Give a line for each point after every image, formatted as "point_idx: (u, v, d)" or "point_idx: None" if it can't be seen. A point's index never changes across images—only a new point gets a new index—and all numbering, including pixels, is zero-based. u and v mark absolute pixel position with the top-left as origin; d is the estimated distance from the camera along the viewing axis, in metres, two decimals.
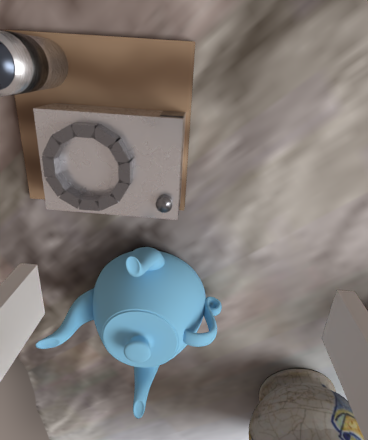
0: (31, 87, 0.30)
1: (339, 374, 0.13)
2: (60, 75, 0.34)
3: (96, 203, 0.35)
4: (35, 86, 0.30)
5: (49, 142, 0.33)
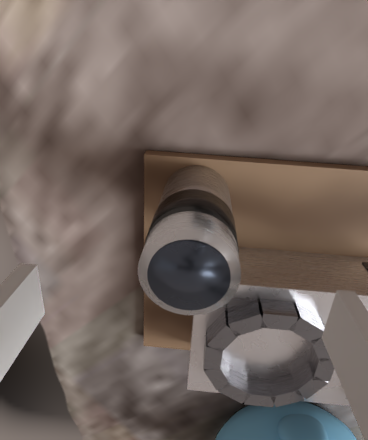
0: None
1: (339, 374, 0.13)
2: None
3: (271, 399, 0.25)
4: None
5: (222, 332, 0.22)
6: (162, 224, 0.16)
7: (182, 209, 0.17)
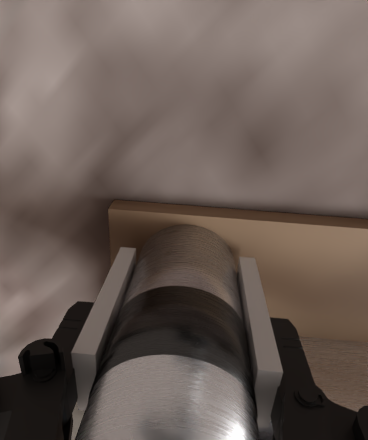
0: None
1: None
2: None
3: None
4: None
5: None
6: (114, 386, 0.08)
7: (154, 348, 0.09)
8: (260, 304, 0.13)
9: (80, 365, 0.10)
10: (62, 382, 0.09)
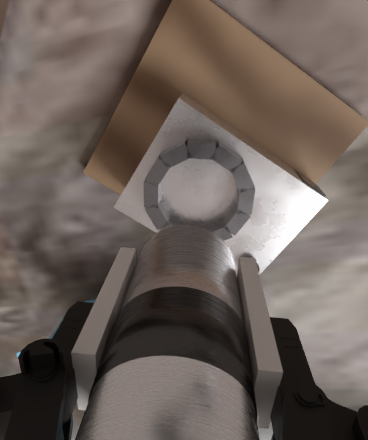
0: None
1: None
2: None
3: None
4: None
5: (178, 148, 0.25)
6: (113, 387, 0.08)
7: (153, 349, 0.09)
8: (260, 304, 0.13)
9: (80, 365, 0.10)
10: (62, 382, 0.09)
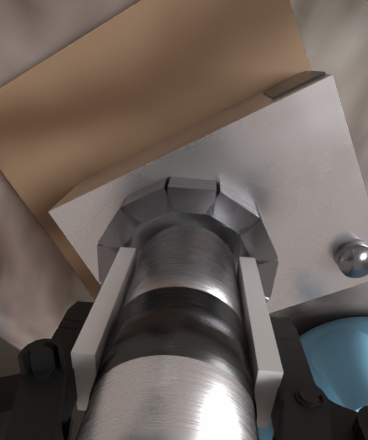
0: None
1: None
2: None
3: None
4: None
5: (100, 257, 0.17)
6: (114, 386, 0.09)
7: (154, 349, 0.09)
8: (260, 304, 0.13)
9: (80, 365, 0.10)
10: (62, 382, 0.09)
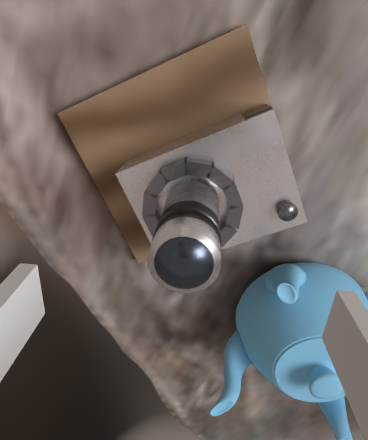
0: None
1: (339, 374, 0.13)
2: None
3: None
4: None
5: (145, 200, 0.30)
6: (167, 225, 0.22)
7: (182, 215, 0.23)
8: None
9: None
10: None
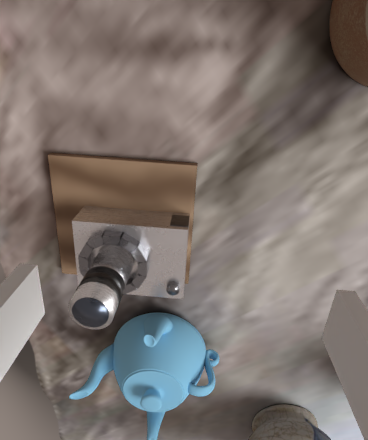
0: None
1: (339, 373, 0.13)
2: None
3: None
4: None
5: (84, 247, 0.42)
6: (90, 286, 0.36)
7: (102, 282, 0.36)
8: None
9: None
10: None
